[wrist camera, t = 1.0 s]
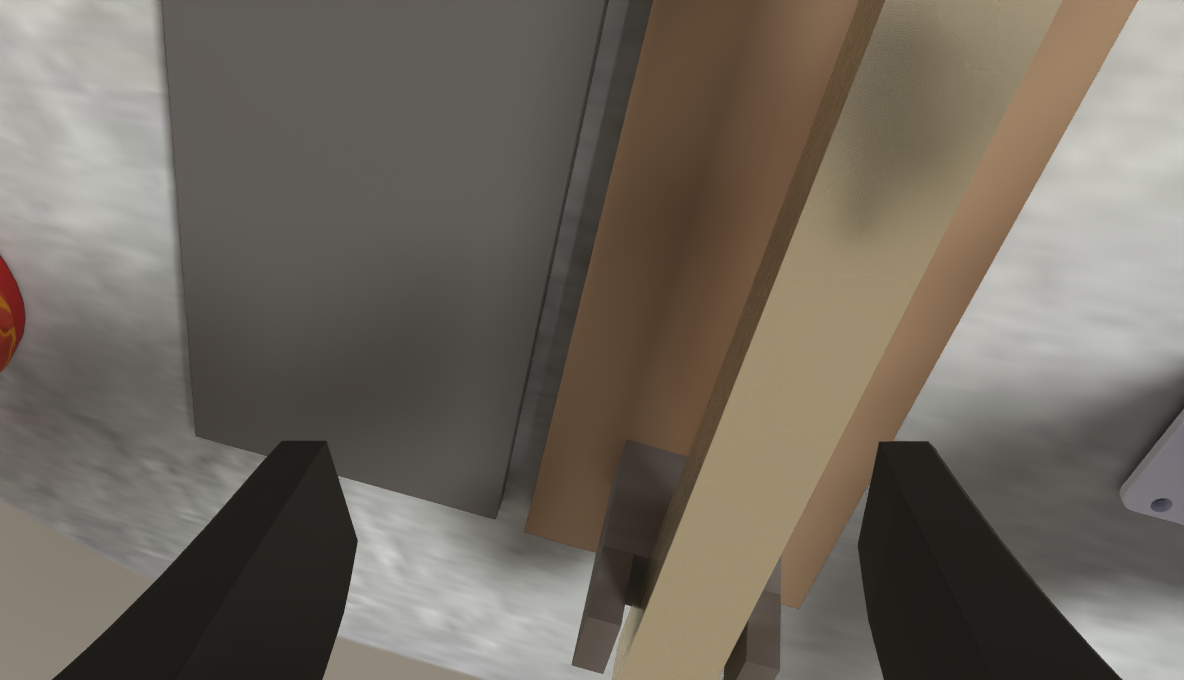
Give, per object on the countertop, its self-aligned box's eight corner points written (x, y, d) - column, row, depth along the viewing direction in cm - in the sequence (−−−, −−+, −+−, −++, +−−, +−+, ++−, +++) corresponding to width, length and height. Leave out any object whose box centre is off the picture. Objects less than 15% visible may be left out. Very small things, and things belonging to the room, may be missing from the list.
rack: (1447, -613, 14) (1926, -809, 8) (799, 584, 30) (799, 799, 25) (841, -764, 14) (874, -1070, 8) (531, 509, 31) (470, 706, 25)
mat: (775, -782, 14) (774, -803, 13) (501, 501, 31) (495, 519, 30) (119, -946, 14) (86, -975, 13) (208, 419, 31) (195, 436, 30)
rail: (1295, -604, 10) (1396, -656, 9) (696, 660, 26) (689, 734, 24) (1103, -652, 11) (1166, -715, 9) (619, 639, 26) (606, 711, 24)
